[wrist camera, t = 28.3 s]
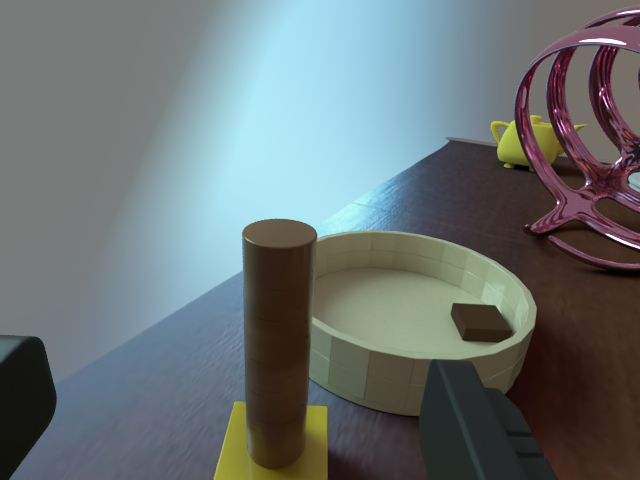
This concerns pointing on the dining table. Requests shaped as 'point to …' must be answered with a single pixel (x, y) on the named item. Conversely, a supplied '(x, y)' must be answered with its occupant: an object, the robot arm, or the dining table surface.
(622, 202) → the pink metal ribbed cage
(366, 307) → the pan
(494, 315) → the brown square block
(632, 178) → the lid
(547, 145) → the teapot
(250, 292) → the sponge brush
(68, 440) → the dining table surface
